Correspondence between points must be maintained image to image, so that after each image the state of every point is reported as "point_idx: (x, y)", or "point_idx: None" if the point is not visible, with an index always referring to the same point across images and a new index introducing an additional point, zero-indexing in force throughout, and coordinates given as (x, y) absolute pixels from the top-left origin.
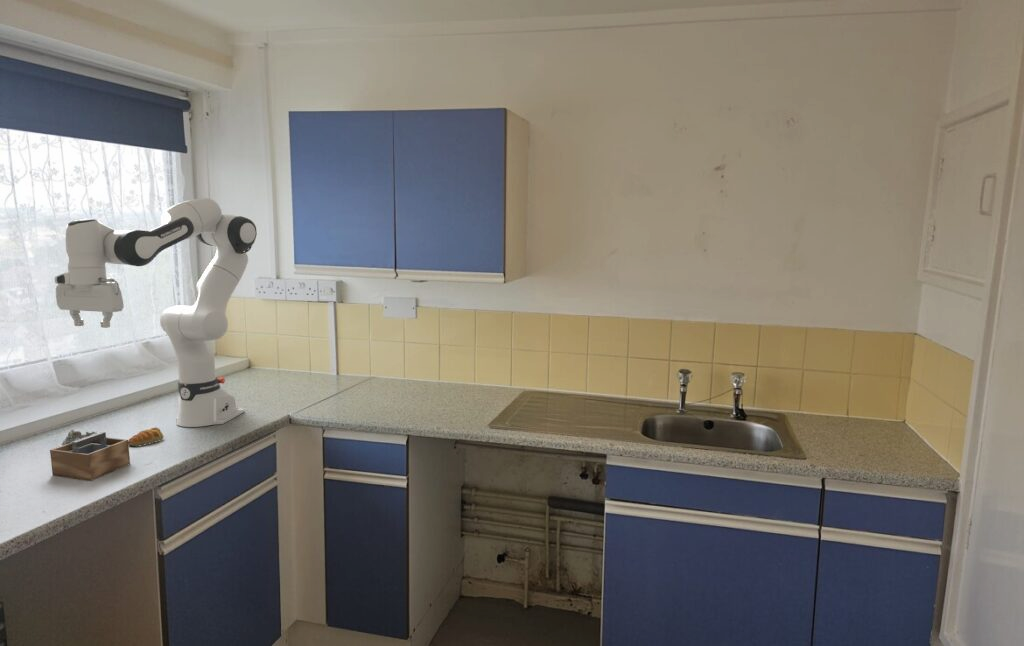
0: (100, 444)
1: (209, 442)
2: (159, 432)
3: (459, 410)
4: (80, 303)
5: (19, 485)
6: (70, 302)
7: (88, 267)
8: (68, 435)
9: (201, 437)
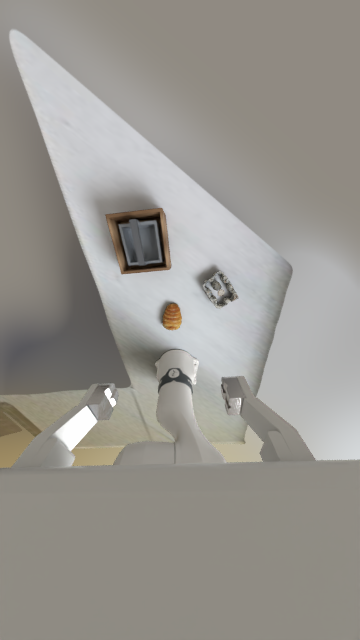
0: (149, 262)
1: (125, 331)
2: (164, 326)
3: (51, 417)
4: (188, 573)
5: (169, 174)
6: (346, 588)
7: None
8: (233, 289)
9: (141, 337)
